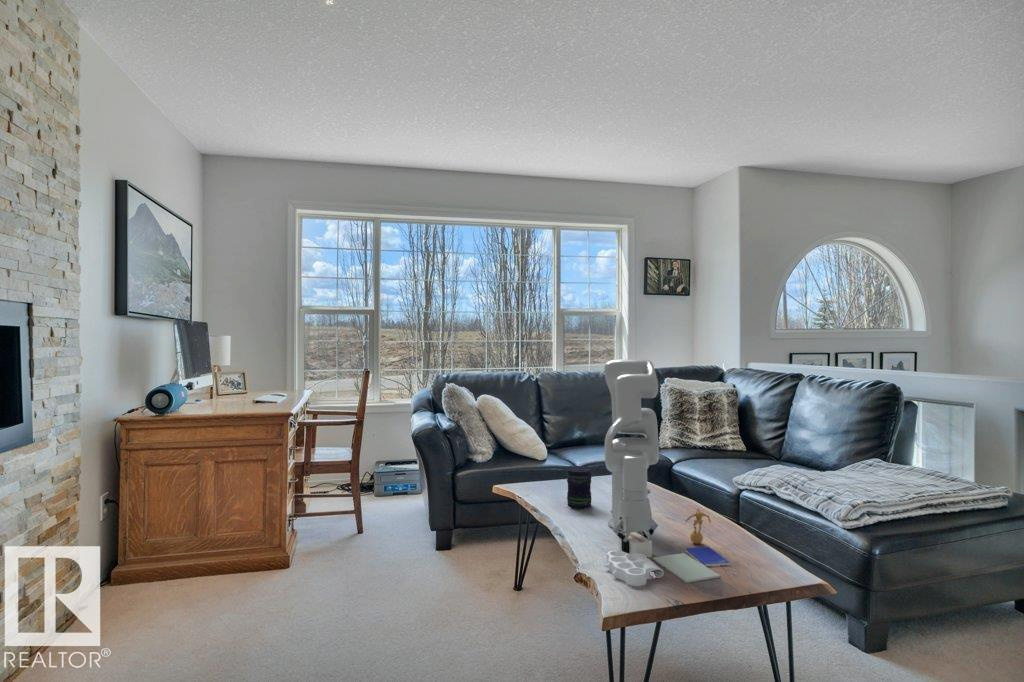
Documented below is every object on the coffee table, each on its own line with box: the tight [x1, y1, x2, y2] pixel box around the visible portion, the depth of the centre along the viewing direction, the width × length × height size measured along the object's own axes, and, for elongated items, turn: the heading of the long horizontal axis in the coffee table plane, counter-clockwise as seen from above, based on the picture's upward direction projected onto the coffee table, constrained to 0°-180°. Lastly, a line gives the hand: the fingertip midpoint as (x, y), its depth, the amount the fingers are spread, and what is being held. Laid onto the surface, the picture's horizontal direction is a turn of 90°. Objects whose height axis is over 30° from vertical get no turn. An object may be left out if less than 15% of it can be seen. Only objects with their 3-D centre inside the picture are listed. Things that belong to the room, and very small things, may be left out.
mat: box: [652, 552, 721, 584], centre depth 159 cm, size 17×11×1 cm, turn 17°
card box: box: [618, 532, 653, 558], centre depth 171 cm, size 9×6×5 cm, turn 22°
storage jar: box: [566, 465, 592, 510], centre depth 221 cm, size 10×10×15 cm
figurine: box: [685, 508, 712, 545], centre depth 178 cm, size 8×6×12 cm
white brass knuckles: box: [603, 550, 665, 587], centre depth 157 cm, size 3×18×15 cm
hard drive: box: [685, 546, 731, 567], centre depth 167 cm, size 2×8×12 cm
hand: (635, 551), depth 171 cm, fingers closed on card box, 6 cm apart
